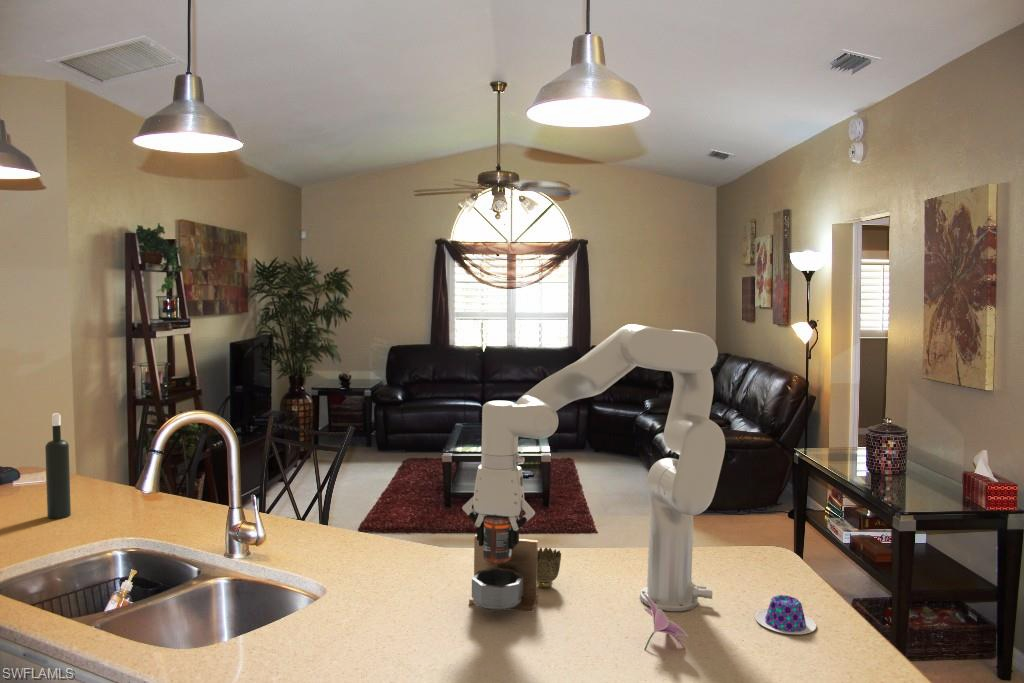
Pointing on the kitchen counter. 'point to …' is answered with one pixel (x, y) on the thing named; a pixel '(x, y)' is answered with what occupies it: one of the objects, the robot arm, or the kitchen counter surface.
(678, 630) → the lily
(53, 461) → the wine bottle
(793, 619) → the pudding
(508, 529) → the supplement bottle
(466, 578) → the kitchen counter surface
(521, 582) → the cup bracket
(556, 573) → the cup
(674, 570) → the robot arm
